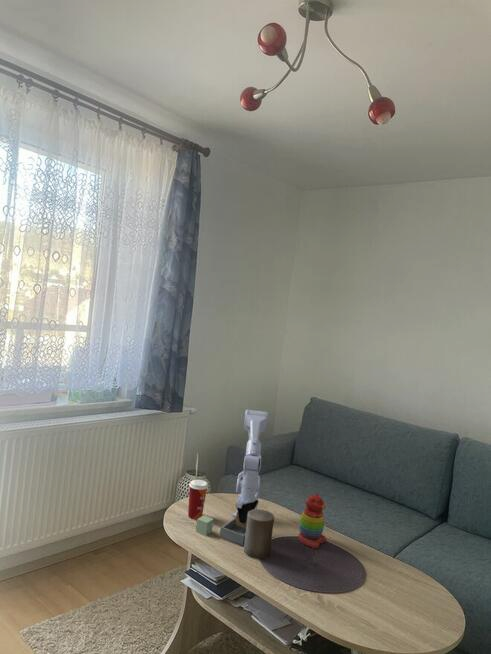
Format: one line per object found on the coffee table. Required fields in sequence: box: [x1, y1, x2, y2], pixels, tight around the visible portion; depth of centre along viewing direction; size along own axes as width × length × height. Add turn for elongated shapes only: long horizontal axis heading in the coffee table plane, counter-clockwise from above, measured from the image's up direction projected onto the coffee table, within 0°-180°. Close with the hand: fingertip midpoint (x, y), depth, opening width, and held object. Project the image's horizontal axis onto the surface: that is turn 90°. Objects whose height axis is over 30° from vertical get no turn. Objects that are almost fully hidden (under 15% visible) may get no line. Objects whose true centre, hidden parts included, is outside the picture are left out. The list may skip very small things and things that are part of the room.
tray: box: [219, 516, 246, 548], centre depth 184 cm, size 14×10×4 cm
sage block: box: [195, 515, 214, 536], centre depth 184 cm, size 4×4×5 cm
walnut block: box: [235, 511, 249, 529], centre depth 187 cm, size 4×4×5 cm
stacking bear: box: [297, 493, 327, 549], centre depth 187 cm, size 11×10×18 cm
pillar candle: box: [243, 508, 275, 559], centre depth 174 cm, size 10×10×15 cm
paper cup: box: [187, 479, 209, 520], centre depth 196 cm, size 8×8×14 cm
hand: (245, 520), depth 187 cm, fingers closed on walnut block, 4 cm apart
